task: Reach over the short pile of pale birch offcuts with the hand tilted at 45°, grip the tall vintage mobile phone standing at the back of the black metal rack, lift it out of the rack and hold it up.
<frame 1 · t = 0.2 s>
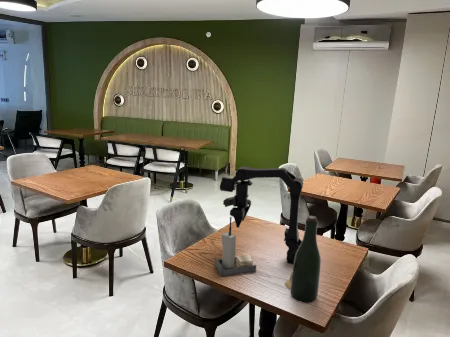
hand: (240, 223, 162), 14 cm above the table, tool pointing down, fingers open, 9 cm apart
vintage mobile phone: (227, 270, 147), resting in rack
beer bottle: (303, 296, 131), on the table, touching hand bell
rack: (227, 269, 147), on the table
hand bell: (295, 286, 137), on the table, touching beer bottle
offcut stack: (243, 268, 150), resting in rack
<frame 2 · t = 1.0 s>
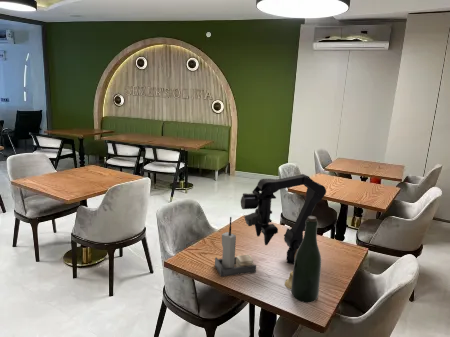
hand: (262, 240, 150), 12 cm above the table, tool pointing down, fingers open, 9 cm apart
nothing on the table moved.
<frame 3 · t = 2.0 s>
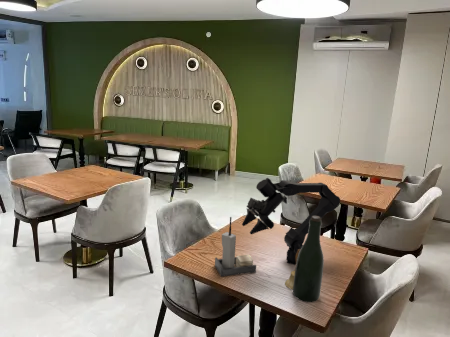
hand: (246, 229, 146), 18 cm above the table, tool tilted 45°, fingers open, 9 cm apart
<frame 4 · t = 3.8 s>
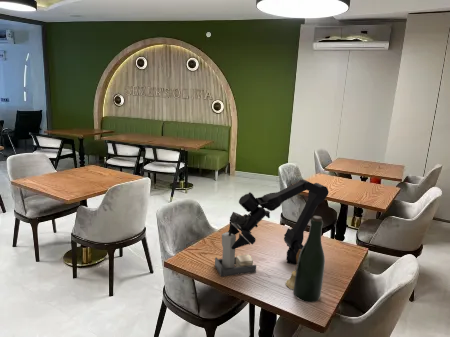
hand: (228, 243, 145), 12 cm above the table, tool tilted 45°, fingers open, 9 cm apart
hand bell: (295, 285, 138), on the table, touching beer bottle
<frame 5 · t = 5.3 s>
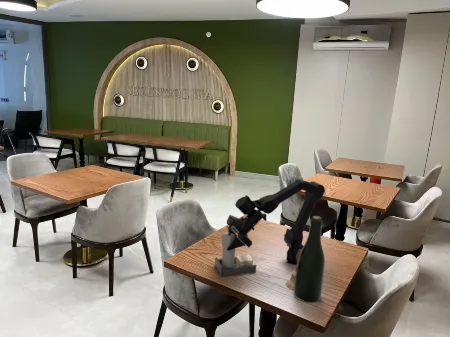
hand: (225, 246, 144), 11 cm above the table, tool tilted 45°, fingers closed on vintage mobile phone, 6 cm apart
vintage mobile phone: (227, 270, 147), resting in rack, touching gripper
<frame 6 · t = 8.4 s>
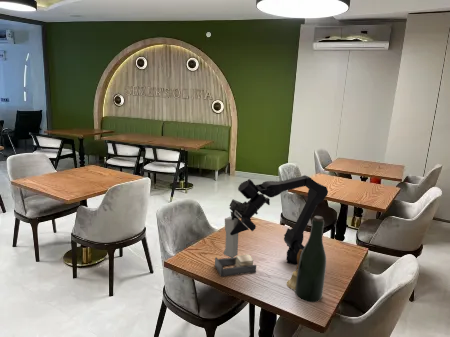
hand: (228, 231, 143), 18 cm above the table, tool tilted 45°, fingers closed on vintage mobile phone, 6 cm apart
vintage mobile phone: (230, 255, 146), point 7 cm above the table, touching gripper
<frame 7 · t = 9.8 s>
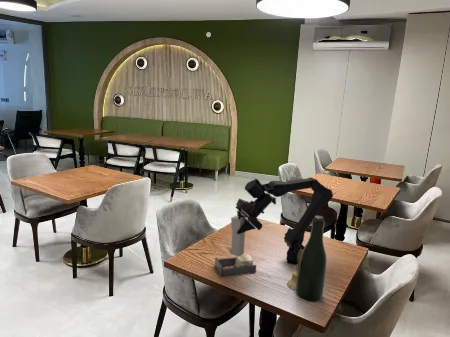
hand: (234, 230, 144), 18 cm above the table, tool tilted 45°, fingers closed on vintage mobile phone, 6 cm apart
vintage mobile phone: (236, 254, 147), point 7 cm above the table, touching gripper
beer bottle: (308, 295, 131), on the table, touching hand bell
everything else where it was.
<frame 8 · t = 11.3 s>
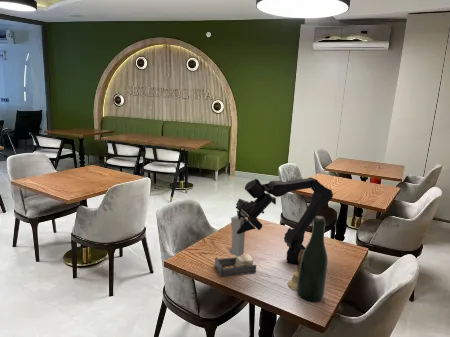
hand: (234, 230, 144), 18 cm above the table, tool tilted 45°, fingers closed on vintage mobile phone, 6 cm apart
vintage mobile phone: (236, 254, 147), point 7 cm above the table, touching gripper
hand bell: (297, 286, 137), on the table, touching beer bottle
everything else where it was.
at the end: the gripper is holding vintage mobile phone; vintage mobile phone point 7.0 cm above the table; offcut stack moved 0.2 cm from its start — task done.
